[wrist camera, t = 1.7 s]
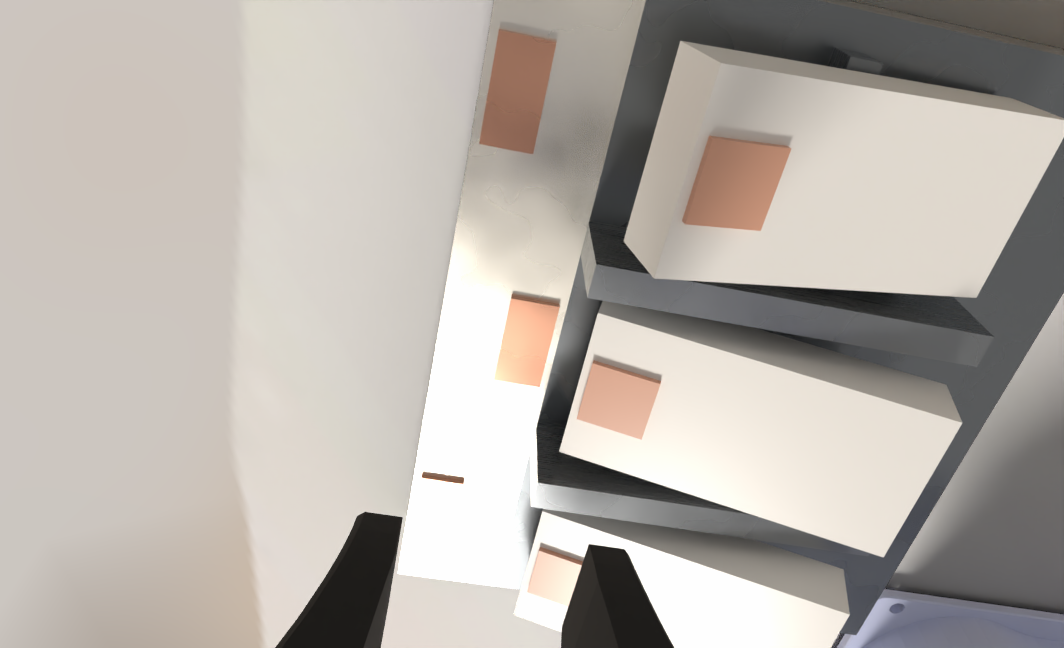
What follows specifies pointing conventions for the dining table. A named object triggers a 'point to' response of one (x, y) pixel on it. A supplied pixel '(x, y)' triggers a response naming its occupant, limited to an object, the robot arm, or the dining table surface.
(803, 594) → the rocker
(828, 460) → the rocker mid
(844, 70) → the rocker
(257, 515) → the dining table surface
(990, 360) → the switch panel
